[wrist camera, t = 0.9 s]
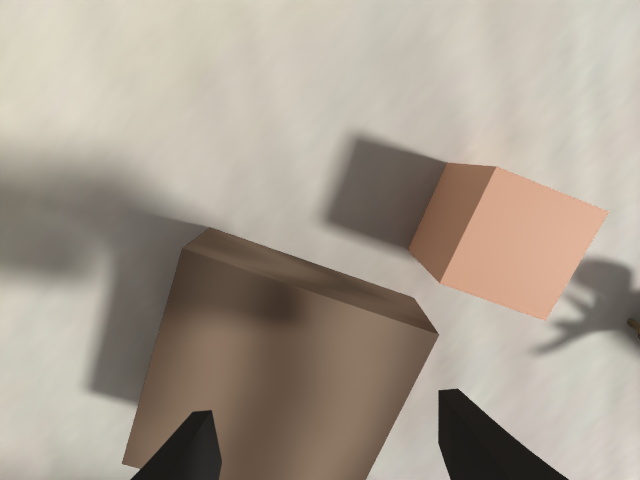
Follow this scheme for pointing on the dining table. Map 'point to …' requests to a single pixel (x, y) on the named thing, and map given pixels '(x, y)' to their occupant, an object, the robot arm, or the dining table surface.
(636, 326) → the eagle figurine
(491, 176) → the terracotta cube
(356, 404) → the walnut plinth
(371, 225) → the dining table surface
